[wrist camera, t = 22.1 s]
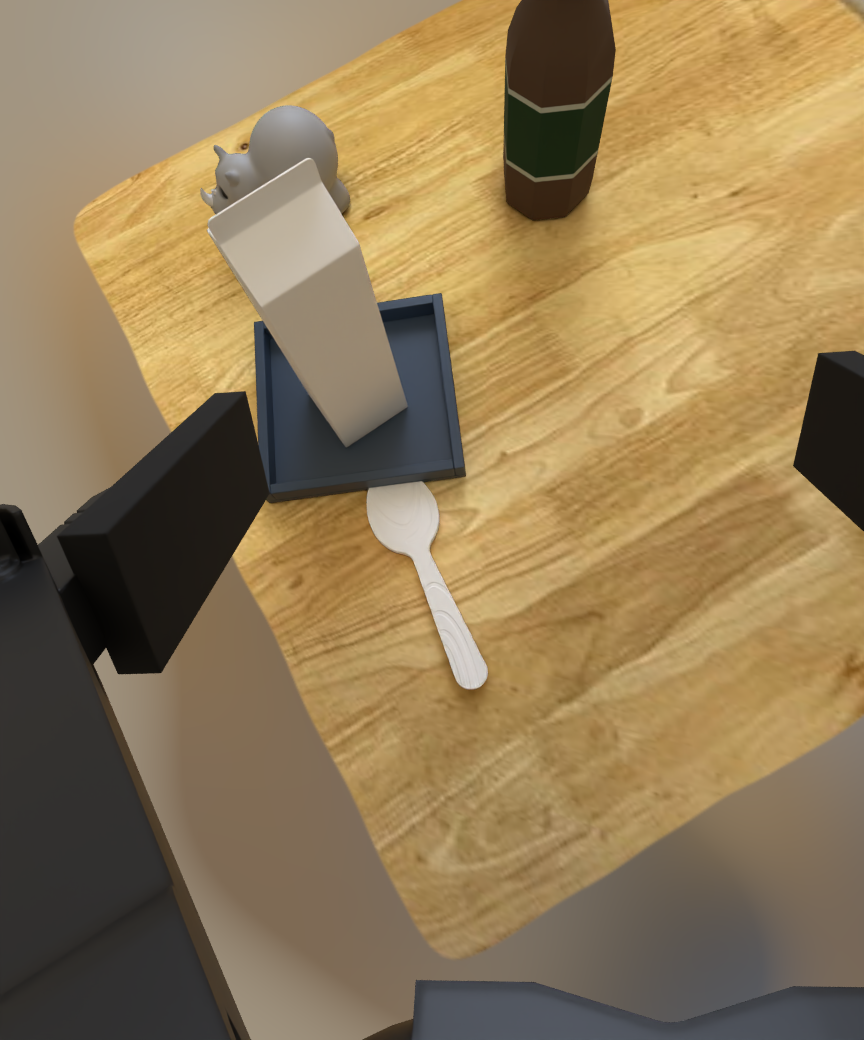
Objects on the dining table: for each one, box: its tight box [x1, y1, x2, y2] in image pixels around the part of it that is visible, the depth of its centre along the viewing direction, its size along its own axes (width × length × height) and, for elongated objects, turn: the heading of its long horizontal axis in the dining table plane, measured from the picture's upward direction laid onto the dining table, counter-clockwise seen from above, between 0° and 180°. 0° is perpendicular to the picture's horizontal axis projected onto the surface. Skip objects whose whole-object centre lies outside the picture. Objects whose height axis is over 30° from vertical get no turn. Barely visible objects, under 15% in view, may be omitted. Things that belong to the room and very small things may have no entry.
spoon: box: [366, 481, 488, 690], centre depth 46 cm, size 5×18×1 cm, turn 23°
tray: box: [254, 293, 466, 503], centre depth 50 cm, size 16×15×2 cm
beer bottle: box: [503, 0, 616, 220], centre depth 43 cm, size 8×8×24 cm
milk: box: [207, 158, 408, 447], centre depth 39 cm, size 6×6×22 cm
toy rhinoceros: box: [201, 106, 350, 214], centre depth 52 cm, size 7×12×8 cm, turn 112°
